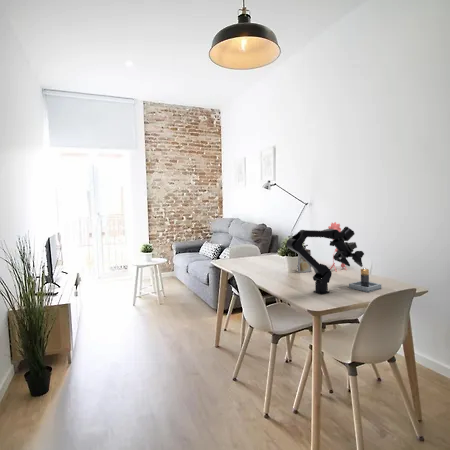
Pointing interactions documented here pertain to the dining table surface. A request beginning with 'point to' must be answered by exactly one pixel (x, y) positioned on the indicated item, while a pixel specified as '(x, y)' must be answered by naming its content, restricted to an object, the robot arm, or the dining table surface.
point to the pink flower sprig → (337, 227)
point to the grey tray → (366, 289)
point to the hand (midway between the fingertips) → (355, 266)
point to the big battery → (365, 277)
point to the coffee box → (303, 264)
